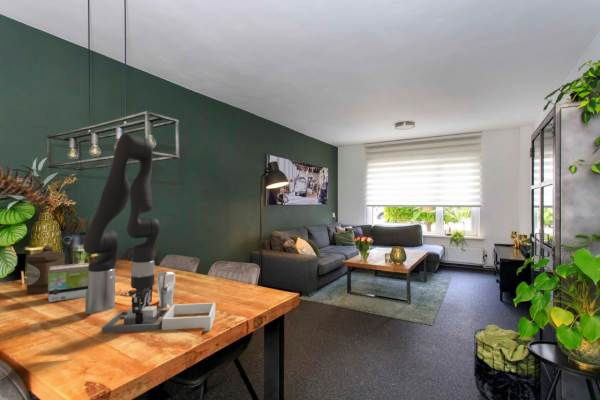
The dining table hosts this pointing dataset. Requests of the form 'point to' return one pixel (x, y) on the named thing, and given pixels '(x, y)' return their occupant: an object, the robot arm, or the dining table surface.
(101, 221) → the robot arm
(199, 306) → the bin
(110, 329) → the tray
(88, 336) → the dining table surface
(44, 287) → the wooden container
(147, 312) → the off-white cube
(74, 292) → the tea box
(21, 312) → the dining table surface
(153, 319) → the scoop
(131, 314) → the light grey cube block
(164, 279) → the silver metal goblet
